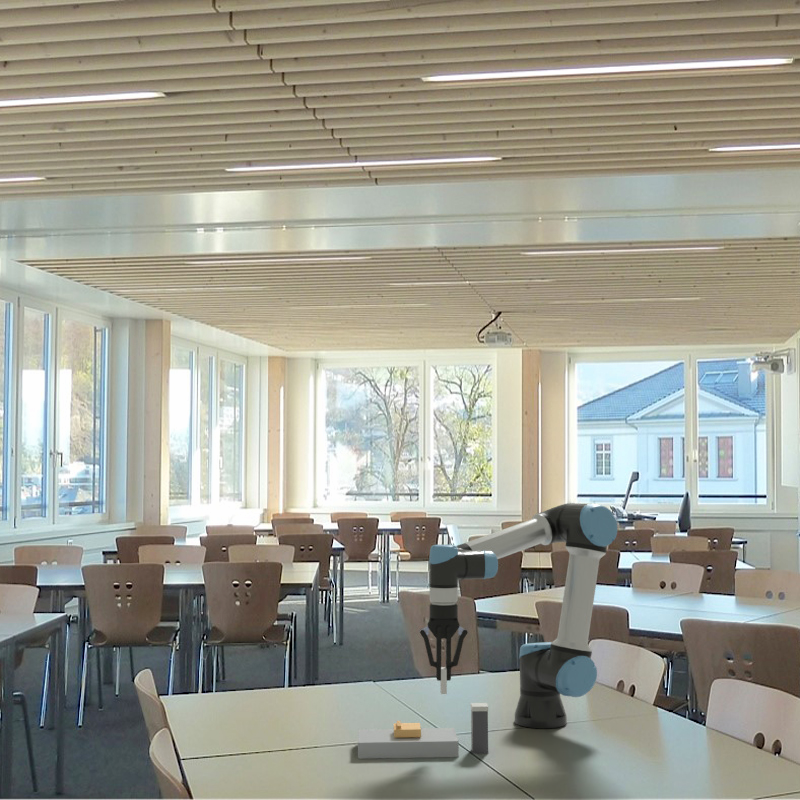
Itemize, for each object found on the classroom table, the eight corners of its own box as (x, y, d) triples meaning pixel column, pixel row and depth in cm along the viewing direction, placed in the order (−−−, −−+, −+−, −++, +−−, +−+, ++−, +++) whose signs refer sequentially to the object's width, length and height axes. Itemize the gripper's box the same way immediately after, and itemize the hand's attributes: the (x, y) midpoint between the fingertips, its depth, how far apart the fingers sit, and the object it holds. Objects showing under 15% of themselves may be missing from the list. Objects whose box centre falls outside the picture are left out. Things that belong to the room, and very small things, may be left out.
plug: (486, 749, 287) (486, 702, 287) (488, 753, 282) (488, 706, 283) (471, 749, 286) (470, 703, 287) (472, 753, 282) (472, 706, 283)
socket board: (454, 742, 293) (454, 727, 293) (458, 756, 279) (458, 741, 279) (358, 744, 292) (358, 729, 293) (357, 758, 278) (357, 742, 279)
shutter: (419, 730, 290) (419, 719, 290) (421, 737, 283) (421, 726, 283) (393, 730, 289) (393, 720, 290) (394, 737, 282) (394, 726, 283)
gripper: (466, 601, 292) (466, 689, 291) (418, 601, 292) (418, 690, 290) (469, 604, 285) (469, 695, 283) (419, 604, 284) (419, 696, 283)
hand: (443, 692), depth 287 cm, fingers closed
